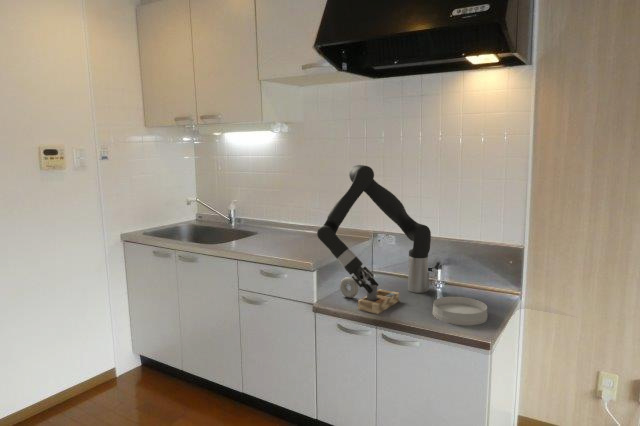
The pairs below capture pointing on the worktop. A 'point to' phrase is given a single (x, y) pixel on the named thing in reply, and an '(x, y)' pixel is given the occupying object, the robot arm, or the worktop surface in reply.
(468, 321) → the dish
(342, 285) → the donut
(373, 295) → the plug
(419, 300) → the worktop surface
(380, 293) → the socket board
